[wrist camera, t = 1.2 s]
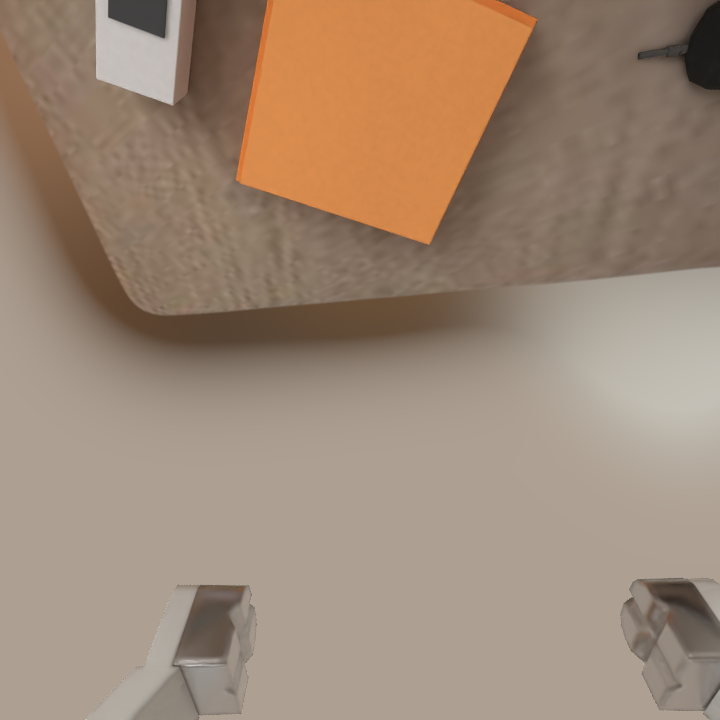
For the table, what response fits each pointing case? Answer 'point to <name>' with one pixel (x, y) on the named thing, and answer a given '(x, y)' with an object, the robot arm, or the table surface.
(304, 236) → the table surface
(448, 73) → the folded cloth
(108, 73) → the remote
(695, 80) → the gaming mouse
